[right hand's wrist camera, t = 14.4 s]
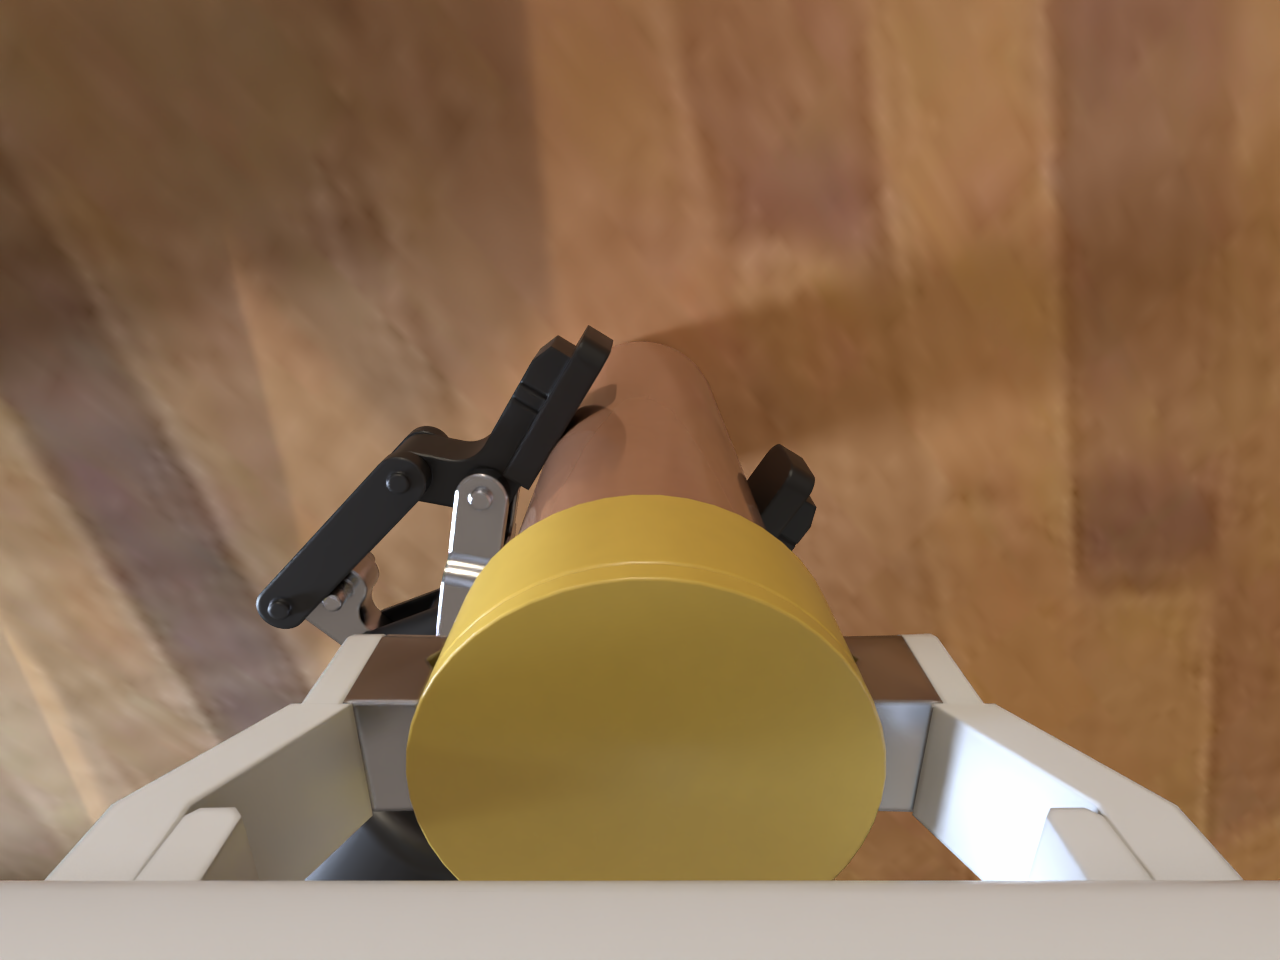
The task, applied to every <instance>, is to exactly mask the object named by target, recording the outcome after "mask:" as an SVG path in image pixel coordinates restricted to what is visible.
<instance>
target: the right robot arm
mask: <svg viewBox="0 0 1280 960" xmlns="http://www.w3.org/2000/svg"><path fill="white" fill-rule="evenodd" d="M447 637H448V636H447V635H399V634H388V635H385V634H354V635H352V636H349V637H348V638H347V639H346V640H345V641H344V643H343V644H342V646H341V647H340V649H339V650H338V652H337V653H336V654H335V656H334V657H333V659H332V660H331V662H330V663H329V665H328V666H327V667H326V669H325V670H324V672H323V673H322V675H321V676H320V678H319V679H318V681H317V682H316V683H315V685H314V686H313V688H312V689H311V691H310V692H309V694H308V695H307V696H306V698H305V699H304V701H303V702H302V704H290V705H288V706H286V707H284V708H283V709H281V710H279V711H277V712H275V713H274V714H272V715H270V716H268V717H266V718H265V719H263V720H261V721H259V722H258V723H256V724H254V725H252V726H250V727H249V728H247V729H245V730H243V731H242V732H240V733H238V734H236V735H234V736H233V737H231V738H229V739H227V740H226V741H224V742H222V743H220V744H218V745H217V746H215V747H213V748H211V749H209V750H208V751H206V752H204V753H202V754H201V755H199V756H197V757H195V758H193V759H192V760H190V761H188V762H186V763H185V764H183V765H181V766H179V767H177V768H176V769H174V770H172V771H170V772H169V773H167V774H165V775H163V776H161V777H160V778H158V779H156V780H154V781H152V782H151V783H149V784H147V785H145V786H144V787H142V788H140V789H138V790H136V791H135V792H133V793H131V794H129V795H128V796H126V797H124V798H122V799H120V800H119V801H117V802H115V803H113V804H112V805H111V806H110V807H109V808H108V809H107V810H106V811H105V812H104V814H103V815H102V816H101V817H100V818H99V819H98V820H97V821H96V823H95V824H94V825H93V826H92V827H91V828H90V829H89V830H88V831H87V833H86V834H85V835H84V836H83V837H82V838H81V839H80V840H79V842H78V843H77V844H76V845H75V846H74V847H73V848H72V849H71V851H70V852H69V853H68V854H67V855H66V856H65V857H64V858H63V860H62V861H61V862H60V863H59V864H58V865H57V866H56V867H55V869H54V870H53V871H52V872H51V873H50V874H49V875H48V876H47V878H46V879H45V880H44V881H8V880H0V960H1280V880H1243V879H1242V877H1241V876H1240V875H1239V874H1238V873H1237V872H1236V871H1235V870H1234V868H1233V867H1232V866H1231V865H1230V864H1229V863H1228V862H1227V861H1226V860H1225V858H1224V857H1223V856H1222V855H1221V854H1220V853H1219V852H1218V851H1217V850H1216V848H1215V847H1214V846H1213V845H1212V844H1211V843H1210V842H1209V841H1208V839H1207V838H1206V837H1205V836H1204V835H1203V834H1202V833H1201V832H1200V831H1199V829H1198V828H1197V827H1196V826H1195V825H1194V824H1193V823H1192V822H1191V821H1190V819H1189V818H1188V817H1187V816H1186V815H1185V814H1184V813H1183V812H1182V811H1181V809H1180V808H1179V807H1178V806H1177V805H1175V804H1173V803H1172V802H1170V801H1168V800H1166V799H1164V798H1163V797H1161V796H1159V795H1157V794H1155V793H1154V792H1152V791H1150V790H1148V789H1147V788H1145V787H1143V786H1141V785H1139V784H1138V783H1136V782H1134V781H1132V780H1130V779H1129V778H1127V777H1125V776H1123V775H1121V774H1120V773H1118V772H1116V771H1114V770H1113V769H1111V768H1109V767H1107V766H1105V765H1104V764H1102V763H1100V762H1098V761H1096V760H1095V759H1093V758H1091V757H1089V756H1087V755H1086V754H1084V753H1082V752H1080V751H1079V750H1077V749H1075V748H1073V747H1071V746H1070V745H1068V744H1066V743H1064V742H1062V741H1061V740H1059V739H1057V738H1055V737H1053V736H1052V735H1050V734H1048V733H1046V732H1045V731H1043V730H1041V729H1039V728H1037V727H1036V726H1034V725H1032V724H1030V723H1028V722H1027V721H1025V720H1023V719H1021V718H1019V717H1018V716H1016V715H1014V714H1012V713H1011V712H1009V711H1007V710H1005V709H1003V708H1002V707H1000V706H998V705H996V704H984V703H983V701H982V700H981V698H980V697H979V696H978V694H977V693H976V691H975V690H974V688H973V687H972V686H971V684H970V683H969V681H968V680H967V679H966V677H965V676H964V674H963V673H962V672H961V670H960V669H959V667H958V666H957V664H956V663H955V662H954V660H953V659H952V657H951V656H950V655H949V653H948V652H947V650H946V649H945V647H944V646H943V645H942V643H941V642H940V640H939V639H938V638H937V637H936V636H934V635H932V634H906V635H892V636H843V637H844V640H845V642H846V644H847V646H848V648H849V650H850V652H851V654H852V656H853V659H854V661H855V663H856V665H857V667H858V669H859V671H860V673H861V675H862V678H863V680H864V682H865V684H866V686H867V688H868V690H869V692H870V695H871V697H872V699H873V701H874V704H875V707H876V709H877V712H878V715H879V718H880V721H881V724H882V728H883V734H884V740H885V746H886V778H885V784H884V789H883V795H882V800H881V803H880V806H879V809H878V811H901V812H913V814H912V815H913V816H914V817H915V818H916V819H917V820H919V821H920V822H921V823H922V824H923V825H924V826H925V827H926V828H927V829H928V830H929V831H930V832H931V833H932V834H933V835H934V836H935V837H937V838H938V839H939V840H940V841H941V842H942V843H943V844H944V845H945V846H946V847H947V848H948V849H949V850H950V851H951V852H952V853H953V854H955V855H956V856H957V857H958V858H959V859H960V860H961V861H962V862H963V863H964V864H965V865H966V866H967V867H968V868H969V869H970V870H972V871H973V872H974V873H975V874H976V875H977V876H978V877H979V878H980V879H981V880H982V881H855V880H667V881H304V880H305V879H306V878H307V877H308V876H309V875H310V874H311V873H313V872H314V871H315V870H316V869H317V868H318V867H319V866H320V865H321V864H322V863H323V862H324V861H325V860H326V859H327V858H328V857H329V856H330V855H331V854H333V853H334V852H335V851H336V850H337V849H338V848H339V847H340V846H341V845H342V844H343V843H344V842H345V841H346V840H347V839H348V838H349V837H350V836H352V835H353V834H354V833H355V832H356V831H357V830H358V829H359V828H360V827H361V826H362V825H363V824H364V823H365V822H366V821H367V820H368V819H369V818H370V817H372V816H373V813H372V812H384V811H414V810H413V807H412V804H411V800H410V796H409V790H408V783H407V777H406V746H407V741H408V736H409V731H410V725H411V721H412V719H413V716H414V713H415V711H416V708H417V705H418V703H419V700H420V698H421V695H422V693H423V691H424V689H425V686H426V684H427V682H428V680H429V678H430V675H431V673H432V671H433V669H434V666H435V664H436V662H437V660H438V658H439V655H440V653H441V651H442V649H443V646H444V644H445V642H446V640H447Z"/></svg>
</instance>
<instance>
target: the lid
mask: <svg viewBox="0 0 1280 960" xmlns="http://www.w3.org/2000/svg"><path fill="white" fill-rule="evenodd" d="M406 777H407V783H408V790H409V796H410V800H411V804H412V807H413V810H414V813H415V816H416V819H417V822H418V824H419V826H420V828H421V830H422V831H423V833H424V835H425V837H426V839H427V841H428V843H429V845H430V846H431V847H432V849H433V850H434V852H435V853H436V855H437V856H438V857H439V859H440V860H441V862H442V863H443V864H444V865H445V866H446V867H447V868H448V870H449V871H450V872H451V873H452V874H453V875H454V876H455V877H456V878H457V879H458V880H459V881H667V880H833V879H834V878H835V877H836V876H837V875H838V874H839V873H840V872H841V871H842V870H843V869H844V868H845V867H846V866H847V865H848V863H849V862H850V861H851V859H852V858H853V857H854V855H855V854H856V852H857V851H858V850H859V848H860V847H861V846H862V844H863V842H864V840H865V838H866V836H867V835H868V833H869V831H870V829H871V827H872V825H873V823H874V820H875V818H876V815H877V812H878V809H879V806H880V803H881V800H882V795H883V789H884V784H885V778H886V746H885V740H884V734H883V728H882V724H881V721H880V718H879V715H878V712H877V709H876V707H875V704H874V701H873V699H872V697H871V695H870V692H869V690H868V688H867V686H866V684H865V682H864V680H863V678H862V675H861V673H860V671H859V669H858V667H857V665H856V663H855V661H854V659H853V656H852V654H851V652H850V650H849V648H848V646H847V644H846V642H845V640H844V637H843V635H842V633H841V631H840V629H839V627H838V625H837V623H836V621H835V618H834V616H833V614H832V612H831V610H830V608H829V606H828V604H827V602H826V599H825V597H824V596H823V594H822V592H821V590H820V588H819V586H818V585H817V583H816V581H815V579H814V578H813V576H812V575H811V574H810V572H809V571H808V570H807V568H806V567H805V566H804V564H803V563H802V562H801V560H800V559H799V558H798V557H797V556H796V555H795V554H794V553H793V552H792V551H791V550H790V549H789V548H787V547H786V546H785V545H784V544H783V543H782V542H781V541H780V540H778V539H777V538H776V537H774V536H773V535H772V534H770V533H769V532H768V531H766V530H765V529H763V528H762V527H760V526H758V525H757V524H755V523H753V522H751V521H749V520H748V519H746V518H744V517H742V516H740V515H738V514H736V513H733V512H730V511H728V510H725V509H723V508H720V507H718V506H715V505H712V504H708V503H704V502H700V501H696V500H692V499H688V498H680V497H672V496H664V495H627V496H618V497H610V498H603V499H599V500H595V501H591V502H587V503H583V504H578V505H576V506H573V507H570V508H568V509H565V510H563V511H560V512H557V513H555V514H552V515H550V516H549V517H547V518H545V519H543V520H541V521H539V522H537V523H536V524H534V525H532V526H530V527H529V528H527V529H526V530H524V531H523V532H522V533H520V534H519V535H517V536H516V537H515V538H513V539H512V540H510V541H509V542H508V543H507V544H506V545H505V546H504V547H503V548H502V549H501V550H500V551H499V552H498V553H497V554H496V555H494V556H493V557H492V558H491V560H490V561H489V562H488V564H487V565H486V566H485V567H484V569H483V570H482V571H481V572H480V574H479V575H478V576H477V578H476V580H475V581H474V583H473V585H472V587H471V588H470V590H469V592H468V594H467V595H466V597H465V600H464V602H463V604H462V606H461V609H460V611H459V613H458V615H457V617H456V620H455V622H454V624H453V626H452V629H451V631H450V633H449V635H448V637H447V640H446V642H445V644H444V646H443V649H442V651H441V653H440V655H439V658H438V660H437V662H436V664H435V666H434V669H433V671H432V673H431V675H430V678H429V680H428V682H427V684H426V686H425V689H424V691H423V693H422V695H421V698H420V700H419V703H418V705H417V708H416V711H415V713H414V716H413V719H412V721H411V725H410V731H409V736H408V741H407V746H406Z"/></svg>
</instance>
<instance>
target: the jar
mask: <svg viewBox="0 0 1280 960" xmlns="http://www.w3.org/2000/svg"><path fill="white" fill-rule="evenodd" d="M627 495H664V496H672V497H680V498H688V499H692V500H696V501H700V502H704V503H708V504H712V505H715V506H718V507H720V508H723V509H725V510H728V511H730V512H733V513H736V514H738V515H740V516H742V517H744V518H746V519H748V520H749V521H751V522H753V523H755V524H757V525H758V526H760V527H762V528H763V529H765V530H766V528H765V525H764V523H763V520H762V518H761V515H760V513H759V510H758V508H757V505H756V503H755V500H754V498H753V495H752V492H751V490H750V487H749V485H748V482H747V480H746V477H745V475H744V472H743V470H742V467H741V465H740V462H739V460H738V457H737V455H736V452H735V450H734V447H733V445H732V442H731V439H730V437H729V434H728V432H727V429H726V427H725V424H724V422H723V419H722V417H721V414H720V412H719V409H718V407H717V404H716V402H715V399H714V397H713V394H712V392H711V389H710V387H709V384H708V382H707V380H706V378H705V377H704V375H703V373H702V372H701V371H700V369H699V368H698V367H697V366H696V365H695V364H694V363H693V362H692V361H691V360H690V359H689V358H688V357H686V356H685V355H684V354H682V353H681V352H679V351H677V350H675V349H673V348H671V347H668V346H666V345H663V344H659V343H654V342H646V341H637V342H628V343H623V344H620V345H616V346H614V347H612V349H611V353H610V355H609V357H608V359H607V361H606V362H605V364H604V366H603V368H602V370H601V371H600V373H599V375H598V376H597V378H596V380H595V381H594V383H593V385H592V386H591V388H590V389H589V391H588V393H587V394H586V396H585V398H584V399H583V401H582V403H581V404H580V406H579V408H578V409H577V411H576V413H575V414H574V416H573V418H572V419H571V421H570V422H569V424H568V426H567V427H566V429H565V431H564V432H563V434H562V436H561V437H560V439H559V441H558V442H557V444H556V446H555V447H554V449H553V450H552V451H551V453H550V455H549V456H548V458H547V460H546V462H545V464H544V466H543V469H542V471H541V474H540V477H539V480H538V482H537V485H536V488H535V490H534V493H533V496H532V499H531V501H530V504H529V507H528V510H527V512H526V515H525V518H524V521H523V523H522V526H521V529H520V531H519V534H520V533H522V532H523V531H524V530H526V529H527V528H529V527H530V526H532V525H534V524H536V523H537V522H539V521H541V520H543V519H545V518H547V517H549V516H550V515H552V514H555V513H557V512H560V511H563V510H565V509H568V508H570V507H573V506H576V505H578V504H583V503H587V502H591V501H595V500H599V499H603V498H610V497H618V496H627ZM766 531H767V530H766ZM519 534H518V535H519Z"/></svg>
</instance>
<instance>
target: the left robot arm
mask: <svg viewBox="0 0 1280 960" xmlns="http://www.w3.org/2000/svg"><path fill="white" fill-rule="evenodd" d="M612 344H613V340H612V339H610V338H609V337H607V336H605V335H604V334H602V333H601V332H599V331H597V330H596V329H594V328H592V327H591V326H589V325H588V327H587V328H586V330H585V331H584V333H583V335H582V336H581V338H580V340H579V342H578V343H577V345H576V346H575V345H573V344H572V343H570V342H568V341H567V340H565V339H563V338H562V337H560V336H556V337H555V338H554V339H552V340H551V341H550V342H548V343H547V344H546V345H545V346H543V347H542V348H541V349H540V350H539V352H538V353H537V354H536V356H535V357H534V359H533V360H532V362H531V364H530V365H529V367H528V369H527V371H526V373H525V374H524V376H523V378H522V380H521V381H520V383H519V385H518V387H517V388H516V390H515V392H514V394H513V396H512V397H511V399H510V401H509V403H508V404H507V406H506V408H505V410H504V411H503V413H502V415H501V417H500V419H499V420H498V422H497V424H496V426H495V427H494V429H493V431H492V433H491V434H490V435H489V436H487V437H486V438H484V439H481V440H478V441H462V440H457V439H452V438H448V437H447V435H446V434H445V433H444V432H442V431H441V430H439V429H438V428H435V427H431V426H422V427H419V428H416V429H415V430H413V431H412V432H411V433H410V434H409V435H408V436H407V437H406V438H405V439H404V440H403V441H402V442H401V443H400V444H399V446H398V447H397V448H396V449H395V450H394V451H393V452H392V453H391V454H390V455H388V456H387V457H386V458H385V459H384V460H383V461H382V462H381V463H380V464H379V465H378V466H377V467H376V468H375V469H374V470H373V471H372V472H371V474H370V475H369V476H368V477H367V478H366V479H365V480H364V481H363V482H362V483H361V484H360V485H359V487H358V488H357V489H356V490H355V491H354V492H353V493H352V494H351V495H350V496H349V497H348V499H347V500H346V501H345V502H344V503H343V504H342V505H341V506H340V507H339V508H338V509H337V511H336V512H335V513H334V514H333V515H332V516H331V517H330V518H329V519H328V520H327V521H326V523H325V524H324V525H323V526H322V527H321V528H320V529H319V530H318V531H317V532H316V533H315V535H314V536H313V537H312V538H311V539H310V540H309V541H308V542H307V543H306V544H305V545H304V547H303V548H302V549H301V550H300V551H299V552H298V553H297V554H296V555H295V556H294V557H293V558H292V560H291V561H290V562H289V563H288V564H287V565H286V566H285V567H284V568H283V569H282V570H281V572H280V573H279V574H278V575H277V576H276V577H275V578H274V579H273V580H272V581H271V582H270V584H269V585H268V586H267V587H266V588H265V589H264V590H263V591H262V592H261V593H260V595H259V596H258V598H257V602H256V606H257V610H258V613H259V614H260V616H261V617H262V618H263V619H264V620H265V621H266V622H267V623H268V624H270V625H272V626H274V627H277V628H282V629H290V628H294V627H296V626H298V625H300V624H301V623H302V622H303V621H304V620H305V619H306V620H307V621H309V622H310V623H312V624H313V625H314V626H316V627H317V628H318V629H320V630H321V631H323V632H324V633H325V634H327V635H328V636H330V637H331V638H332V639H334V640H335V641H336V642H338V643H339V644H341V645H342V644H343V643H344V641H345V640H346V639H347V638H348V637H349V636H352V635H354V634H385V635H388V634H399V635H447V636H448V635H449V633H450V631H451V629H452V626H453V624H454V622H455V620H456V617H457V615H458V613H459V611H460V609H461V606H462V604H463V602H464V600H465V597H466V595H467V594H468V592H469V590H470V588H471V587H472V585H473V583H474V581H475V580H476V578H477V576H478V575H479V574H480V572H481V571H482V570H483V569H484V567H485V566H486V565H487V564H488V562H489V561H490V560H491V558H492V557H493V556H494V555H496V554H497V553H498V552H499V551H500V550H501V549H502V548H503V547H504V546H505V545H506V544H507V543H508V542H509V541H510V540H512V539H513V538H515V533H516V523H515V521H516V513H517V506H518V499H519V492H520V486H522V487H524V488H526V489H528V490H529V489H530V487H531V485H532V484H533V482H534V480H535V479H536V477H537V475H538V474H539V472H540V470H541V469H542V467H543V465H544V464H545V462H546V460H547V458H548V456H549V455H550V453H551V451H552V450H553V449H554V447H555V446H556V444H557V442H558V441H559V439H560V437H561V436H562V434H563V432H564V431H565V429H566V427H567V426H568V424H569V422H570V421H571V419H572V418H573V416H574V414H575V413H576V411H577V409H578V408H579V406H580V404H581V403H582V401H583V399H584V398H585V396H586V394H587V393H588V391H589V389H590V388H591V386H592V385H593V383H594V381H595V380H596V378H597V376H598V375H599V373H600V371H601V370H602V368H603V366H604V364H605V362H606V361H607V359H608V357H609V355H610V353H611V349H612ZM747 482H748V485H749V487H750V490H751V492H752V495H753V498H754V500H755V503H756V505H757V508H758V510H759V513H760V515H761V518H762V520H763V523H764V525H765V528H766V530H767V531H768V532H769V533H770V534H772V535H773V536H774V537H776V538H777V539H778V540H780V541H781V542H782V543H783V544H784V545H785V546H786V547H787V548H789V549H790V550H791V551H792V550H793V549H794V547H795V545H796V544H798V542H799V541H800V540H801V539H802V537H803V536H804V535H805V533H806V532H807V531H808V530H809V528H810V527H811V524H812V520H813V517H814V514H815V510H816V506H815V504H814V502H813V501H812V499H811V497H810V496H809V495H810V494H811V492H812V489H813V487H814V483H815V477H814V475H813V474H812V472H811V471H810V469H809V468H808V466H807V464H806V463H805V461H804V460H803V458H801V457H800V456H798V455H797V454H795V453H793V452H792V451H790V450H788V449H787V448H785V447H784V446H782V445H780V444H777V445H775V446H774V447H773V448H771V449H770V450H769V452H768V453H767V454H766V455H765V457H764V458H763V460H762V461H761V462H760V464H759V465H758V466H757V468H756V469H755V470H754V472H753V473H752V475H751V476H750V477H749V479H748V480H747ZM418 501H422V502H427V503H433V504H438V505H444V506H449V507H454V511H453V520H452V530H451V539H450V548H449V555H448V560H447V563H446V566H445V570H444V573H443V578H442V583H441V588H439V589H437V590H434V591H431V592H429V593H426V594H423V595H420V596H418V597H415V598H412V599H410V600H407V601H404V602H402V603H399V604H396V605H394V606H391V607H388V608H386V609H383V610H382V611H380V610H379V609H378V608H377V607H376V606H375V604H374V603H373V600H372V589H373V587H374V585H375V584H376V582H377V580H378V577H379V570H378V567H377V565H376V563H375V557H374V555H373V554H372V553H371V552H370V551H371V550H372V549H373V548H374V547H375V546H376V545H377V544H378V543H379V542H380V541H381V540H382V538H383V537H384V536H385V535H386V534H387V533H388V532H389V531H390V530H391V529H392V528H393V527H394V526H395V525H396V524H397V523H398V522H399V521H400V520H401V519H402V518H403V517H404V516H405V515H406V513H407V512H408V511H409V510H410V509H411V508H412V507H413V506H414V505H415V504H416V503H417V502H418ZM372 813H373V816H372V817H370V818H369V819H368V820H367V821H366V822H365V823H364V824H363V825H362V826H361V827H360V828H359V829H358V830H357V831H356V832H355V833H354V834H353V835H352V836H350V837H349V838H348V839H347V840H346V841H345V842H344V843H343V844H342V845H341V846H340V847H339V848H338V849H337V850H336V851H335V852H334V853H333V854H331V855H330V856H329V857H328V858H327V859H326V860H325V861H324V862H323V863H322V864H321V865H320V866H319V867H318V868H317V869H316V870H315V871H314V872H313V873H311V874H310V875H309V876H308V877H307V878H306V879H305V880H304V881H459V880H458V879H457V878H456V877H455V876H454V875H453V874H452V873H451V872H450V871H449V870H448V868H447V867H446V866H445V865H444V864H443V863H442V862H441V860H440V859H439V857H438V856H437V855H436V853H435V852H434V850H433V849H432V847H431V846H430V845H429V843H428V841H427V839H426V837H425V835H424V833H423V831H422V830H421V828H420V826H419V824H418V822H417V819H416V816H415V813H414V811H384V812H372Z"/></svg>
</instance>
